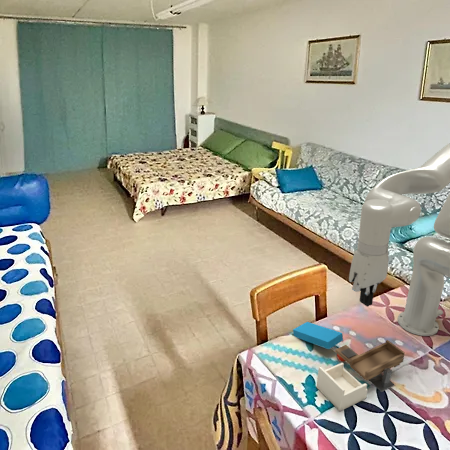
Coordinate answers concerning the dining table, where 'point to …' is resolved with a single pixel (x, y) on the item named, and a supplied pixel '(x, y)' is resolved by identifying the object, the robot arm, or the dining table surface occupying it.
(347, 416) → the dining table surface
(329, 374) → the box
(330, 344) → the lever
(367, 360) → the brown shallow tray
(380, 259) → the robot arm
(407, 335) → the dining table surface
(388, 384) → the stand
